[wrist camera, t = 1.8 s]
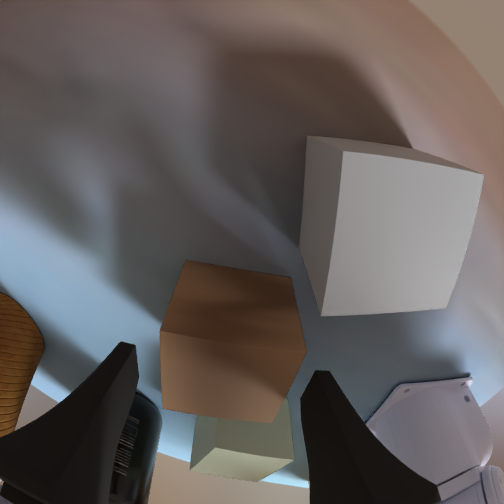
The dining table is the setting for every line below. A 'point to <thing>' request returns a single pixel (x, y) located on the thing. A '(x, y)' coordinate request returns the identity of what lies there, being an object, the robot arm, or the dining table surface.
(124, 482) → the supplement bottle
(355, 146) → the light grey block
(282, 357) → the walnut block
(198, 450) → the sage-green block
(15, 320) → the disposable coffee cup
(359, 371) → the dining table surface
